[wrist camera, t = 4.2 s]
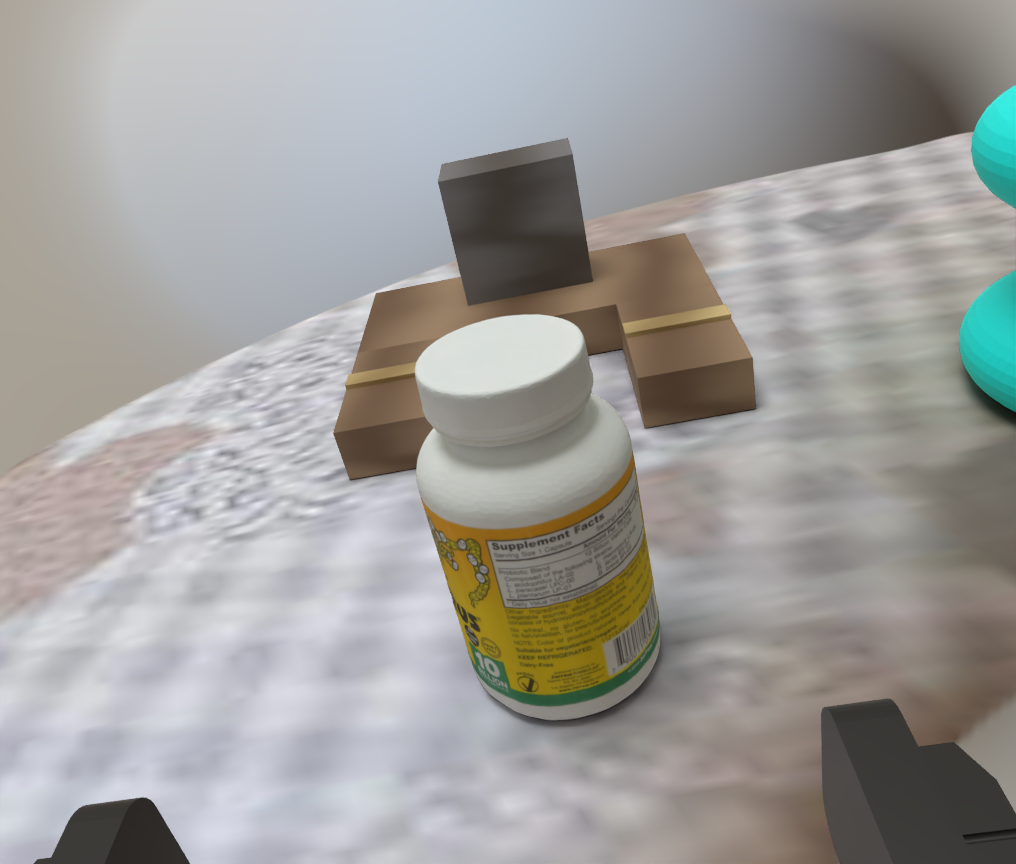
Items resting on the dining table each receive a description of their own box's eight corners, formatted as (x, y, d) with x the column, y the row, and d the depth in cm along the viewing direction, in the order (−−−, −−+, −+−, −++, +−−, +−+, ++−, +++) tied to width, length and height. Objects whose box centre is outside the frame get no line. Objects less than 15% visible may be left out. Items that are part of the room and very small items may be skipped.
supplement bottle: (683, 705, 23) (636, 379, 18) (478, 746, 23) (378, 434, 18) (640, 571, 28) (594, 283, 23) (470, 606, 28) (389, 328, 23)
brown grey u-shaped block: (688, 273, 46) (671, 111, 42) (755, 408, 34) (742, 198, 30) (387, 331, 48) (342, 179, 43) (349, 479, 36) (282, 289, 31)
